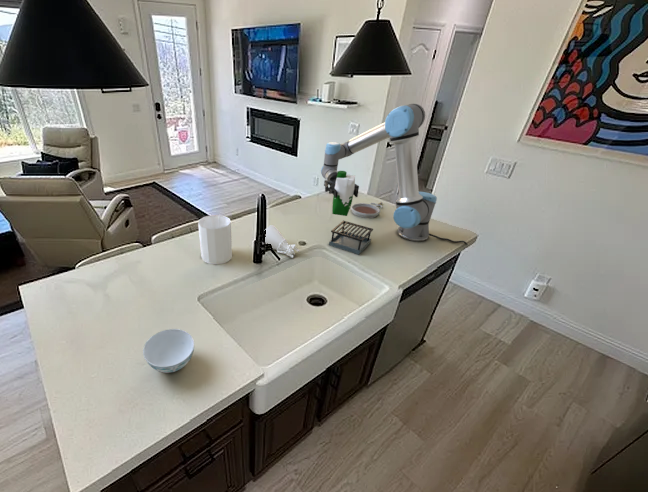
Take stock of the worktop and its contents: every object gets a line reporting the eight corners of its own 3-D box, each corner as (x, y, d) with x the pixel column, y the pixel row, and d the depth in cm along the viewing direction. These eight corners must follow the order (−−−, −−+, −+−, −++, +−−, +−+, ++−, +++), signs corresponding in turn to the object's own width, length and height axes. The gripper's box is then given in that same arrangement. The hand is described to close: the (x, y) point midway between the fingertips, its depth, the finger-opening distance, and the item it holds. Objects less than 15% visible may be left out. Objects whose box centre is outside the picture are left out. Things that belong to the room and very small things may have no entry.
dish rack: (370, 242, 167) (373, 228, 163) (359, 255, 157) (362, 240, 153) (341, 233, 175) (343, 220, 171) (328, 245, 165) (330, 230, 161)
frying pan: (394, 204, 203) (370, 216, 187) (393, 209, 205) (369, 221, 188) (370, 196, 213) (345, 207, 197) (369, 201, 215) (344, 211, 199)
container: (233, 262, 151) (232, 227, 141) (202, 265, 148) (199, 230, 138) (229, 247, 163) (228, 213, 153) (200, 249, 160) (197, 216, 150)
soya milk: (332, 207, 167) (338, 168, 156) (350, 210, 165) (357, 170, 154) (330, 214, 160) (335, 174, 149) (349, 217, 158) (356, 176, 147)
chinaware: (141, 384, 96) (136, 366, 92) (154, 345, 108) (150, 328, 104) (192, 384, 96) (189, 366, 92) (199, 345, 109) (197, 328, 104)
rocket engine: (301, 240, 149) (271, 221, 156) (286, 260, 148) (257, 240, 156) (305, 248, 160) (277, 230, 167) (291, 267, 159) (263, 248, 166)
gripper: (353, 185, 174) (368, 201, 155) (312, 186, 173) (322, 202, 154) (355, 171, 170) (371, 186, 151) (314, 172, 169) (324, 187, 150)
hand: (346, 194), depth 153 cm, fingers closed on soya milk, 9 cm apart
